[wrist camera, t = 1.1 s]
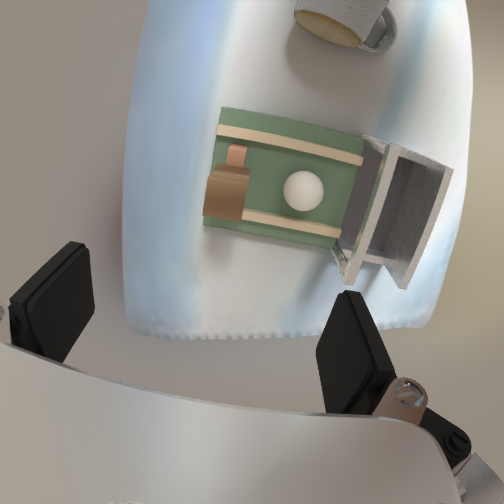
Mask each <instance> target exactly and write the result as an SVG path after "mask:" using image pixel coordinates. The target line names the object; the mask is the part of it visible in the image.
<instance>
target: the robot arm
mask: <svg viewBox="0 0 504 504" xmlns="http://www.w3.org/2000/svg"><path fill="white" fill-rule="evenodd" d="M10 303H11V305H10V306H9V307H7V306H6V305H5V304H3V303H1V302H0V504H502V502H503V500H504V483H503V481H502V480H501V479H500V478H499V477H498V476H497V475H496V474H495V472H494V471H493V470H492V469H491V468H490V467H489V466H488V465H487V464H486V463H485V462H484V461H483V460H482V458H481V457H480V456H479V455H478V454H477V453H476V452H475V453H474V454H473V455H472V454H471V453H470V452H471V441H470V439H469V437H468V436H467V434H466V433H465V432H464V431H463V430H461V429H460V428H458V427H457V426H455V425H454V424H452V423H451V422H449V421H447V420H446V419H444V418H443V417H441V416H440V415H438V414H436V413H435V412H433V411H432V410H430V409H429V408H427V407H426V406H427V402H428V396H427V393H426V391H425V389H424V388H423V387H422V386H421V385H420V384H419V383H418V382H416V381H415V380H413V379H410V378H405V377H399V378H397V376H396V373H395V369H394V367H393V365H392V362H391V360H390V357H389V355H388V353H387V350H386V348H385V346H384V343H383V341H382V339H381V337H380V334H379V332H378V330H377V327H376V325H375V323H374V321H373V319H372V316H371V314H370V312H369V310H368V308H367V305H366V303H365V301H364V299H363V297H362V295H361V293H360V292H356V291H349V290H345V291H344V292H343V293H339V294H338V296H337V298H336V301H335V303H334V306H333V308H332V311H331V313H330V316H329V318H328V321H327V323H326V326H325V328H324V330H323V333H322V335H321V338H320V340H319V342H318V345H317V348H316V359H317V364H318V370H319V375H320V381H321V386H322V392H323V397H324V403H325V409H326V413H313V412H299V411H286V410H274V409H263V408H255V407H247V406H239V405H232V404H225V403H219V402H212V401H206V400H201V399H195V398H190V397H185V396H179V395H175V394H170V393H165V392H161V391H156V390H152V389H148V388H144V387H140V386H136V385H131V384H128V383H124V382H121V381H117V380H113V379H110V378H106V377H103V376H99V375H96V374H93V373H90V372H87V371H83V370H80V369H77V368H74V367H71V366H68V365H66V364H63V361H64V360H65V358H66V357H67V355H68V353H69V352H70V350H71V348H72V347H73V345H74V344H75V342H76V340H77V339H78V337H79V336H80V334H81V332H82V331H83V329H84V328H85V326H86V325H87V323H88V322H89V320H90V319H91V317H92V315H93V313H94V310H95V304H94V296H93V287H92V278H91V269H90V255H89V250H88V248H86V246H85V244H83V243H78V242H73V241H70V242H69V243H68V244H66V245H65V247H63V248H62V249H61V250H60V251H59V252H58V253H56V254H55V255H54V256H53V257H52V258H51V259H50V260H49V261H48V262H47V263H46V264H44V265H43V266H42V267H41V268H40V269H39V270H38V271H37V272H36V273H35V274H34V275H33V276H32V277H31V278H30V279H29V280H28V281H27V282H26V283H25V284H24V285H23V286H22V287H21V288H20V289H19V290H18V291H17V292H16V293H15V294H14V295H13V296H12V297H11V298H10Z"/></svg>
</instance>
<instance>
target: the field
mask: <svg viewBox="0 0 504 504" xmlns="http://www.w3.org/2000/svg"><path fill="white" fill-rule="evenodd" d="M216 135H217V136H216V142H215V148H214V154H213V161H212V167H211V173H212V171H213V170H214V168H215V167H216V165H217V164H218V163H220V164H225V165H226V160H227V154H228V149H229V147H230V146H231V144H232V143H233V144H239V145H244V146H248V148H247V153H246V159H245V164H244V168H248V169H251V171H250V177H249V183H248V188H247V193H246V198H245V204H244V209H243V214H242V219H241V222H237V221H231V220H226V219H220V218H215V217H209V216H204V221H203V225H207V226H213V227H218V228H224V229H229V230H235V231H240V232H246V233H251V234H256V235H262V236H267V237H272V238H278V239H283V240H288V241H293V242H298V243H303V244H309V245H314V246H319V247H324V248H329V249H332V248H333V247H334V244H335V241H336V238H339V237H340V234H341V231H342V230H341V228H340V226H341V223H342V220H343V217H344V214H345V210H346V207H347V204H348V201H349V198H350V194H351V191H352V188H353V184H354V181H355V177H356V174H357V170H358V167H359V166H362V162H363V158H364V157H362V152H363V149H364V145H365V140H364V139H362V138H359V137H356V136H353V135H349V134H346V133H342V132H339V131H335V130H331V129H328V128H324V127H320V126H316V125H312V124H308V123H304V122H300V121H296V120H291V119H287V118H282V117H277V116H273V115H268V114H262V113H257V112H252V111H246V110H240V109H234V108H228V107H222V108H221V114H220V119H219V124H218V125H217V131H216ZM298 171H308V172H311V173H313V174H315V175H316V176H317V177H318V178H319V179H320V180H321V182H322V184H323V188H324V195H323V198H322V201H321V202H320V204H319V205H318V206H317V207H315V208H314V209H312V210H309V211H299V210H296V209H294V208H292V207H291V206H290V205H289V204H288V203H287V202H286V200H285V197H284V193H283V188H284V184H285V182H286V180H287V179H288V177H289V176H290V175H292V174H293V173H295V172H298ZM211 173H210V174H211Z"/></svg>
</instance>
